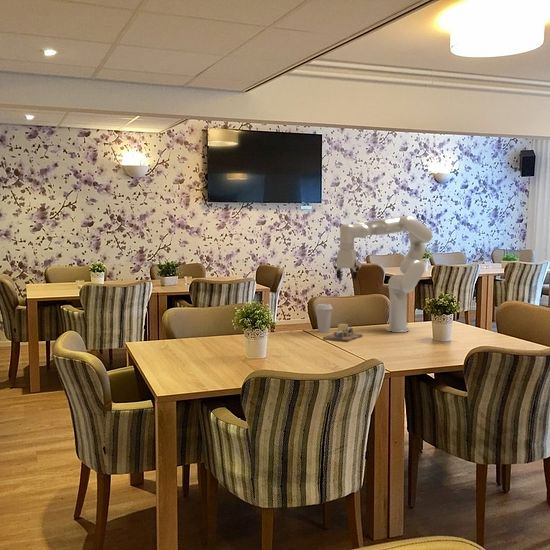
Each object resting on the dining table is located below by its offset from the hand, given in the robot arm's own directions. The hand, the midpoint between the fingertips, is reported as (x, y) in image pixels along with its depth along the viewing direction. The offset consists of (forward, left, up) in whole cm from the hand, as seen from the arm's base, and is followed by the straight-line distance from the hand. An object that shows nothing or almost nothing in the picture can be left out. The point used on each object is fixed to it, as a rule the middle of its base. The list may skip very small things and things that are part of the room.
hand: (346, 278), depth 339 cm
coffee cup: (0, -14, -31) cm, 34 cm away
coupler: (+12, +4, -29) cm, 32 cm away
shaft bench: (+12, +4, -30) cm, 33 cm away
